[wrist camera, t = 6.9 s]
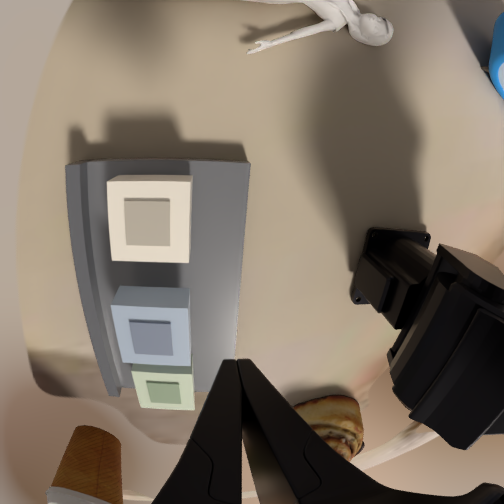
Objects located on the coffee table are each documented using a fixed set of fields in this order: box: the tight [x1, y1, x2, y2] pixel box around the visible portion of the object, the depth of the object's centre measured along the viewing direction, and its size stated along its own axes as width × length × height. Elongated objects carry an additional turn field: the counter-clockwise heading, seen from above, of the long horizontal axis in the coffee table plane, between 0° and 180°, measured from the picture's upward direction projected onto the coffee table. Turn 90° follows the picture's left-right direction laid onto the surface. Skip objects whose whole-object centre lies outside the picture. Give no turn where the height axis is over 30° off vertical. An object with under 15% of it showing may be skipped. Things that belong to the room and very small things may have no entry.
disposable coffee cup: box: [46, 425, 123, 504], centre depth 22 cm, size 10×10×12 cm
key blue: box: [111, 286, 191, 366], centre depth 17 cm, size 4×4×2 cm
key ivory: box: [107, 175, 193, 263], centre depth 16 cm, size 4×4×2 cm
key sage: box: [131, 354, 195, 410], centre depth 21 cm, size 4×4×2 cm
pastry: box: [294, 395, 364, 462], centre depth 28 cm, size 13×15×8 cm
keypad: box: [65, 158, 251, 397], centre depth 20 cm, size 11×19×2 cm, turn 175°
